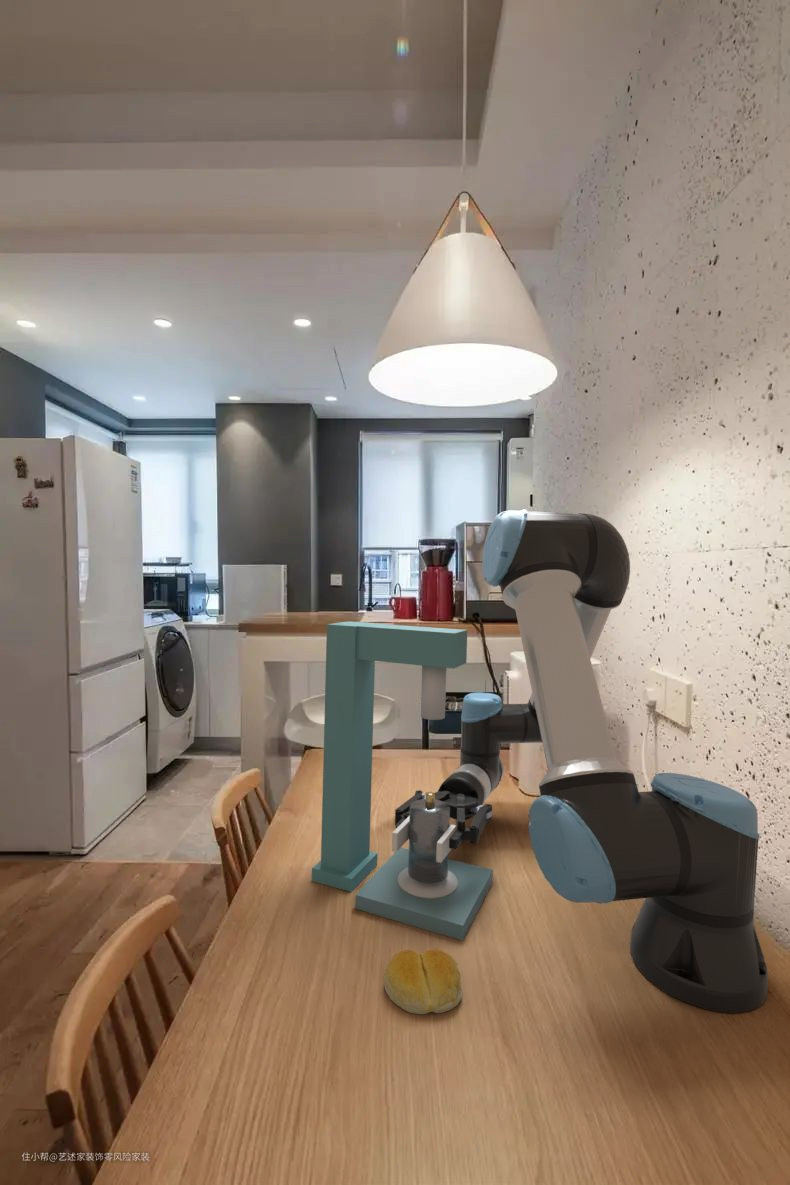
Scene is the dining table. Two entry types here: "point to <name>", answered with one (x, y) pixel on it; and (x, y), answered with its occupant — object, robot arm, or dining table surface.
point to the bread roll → (423, 981)
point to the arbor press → (351, 774)
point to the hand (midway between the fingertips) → (416, 847)
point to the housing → (427, 839)
